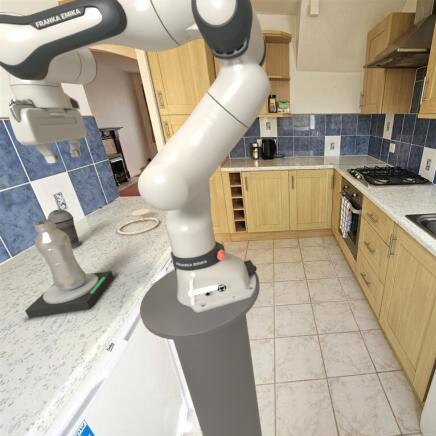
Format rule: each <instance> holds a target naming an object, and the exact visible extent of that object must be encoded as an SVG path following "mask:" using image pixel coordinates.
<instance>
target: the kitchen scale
mask: <svg viewBox="0 0 436 436" xmlns="http://www.w3.org/2000/svg"><path fill="white" fill-rule="evenodd" d="M85 275H86V280H85V282H84V283H83V284H82V285H81V286H79V287H77V288H75V289H72V290H68V291H62V290H59V289H58V288H57V287H56V286H55V285H54V283H53V284H52V285H51V286H50V287H49V288H47V290H45V291H44V292H43V293H42V294H41V295H40V296H39V297H38V298H37V299H36V300H35V301H34V302H32V303H31V304H30V305H29V306H28V307H27V308H26V309H25V310H24V312H25V314H26V316H27V317H28V318H29V319H33V318H40V317H47V316H52V315H60V314H66V313H73V312H78V311H79V312H80V311H84V310H85V311H87V310H91V309H92V307H93V306H94V305H95V304H96V302H97V301H98V299H99V298H100V297H101V296H102V294H103V293H104V291H105V290H106V289H107V287H108V286H109V285H110V284H111V282H112V281H113V279H114V278H115V276H114V274H113V271H112V270H108V271H107V270H106V271H101V272H100V271H99V272H93V273H92V272H91V273H85Z"/></svg>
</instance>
